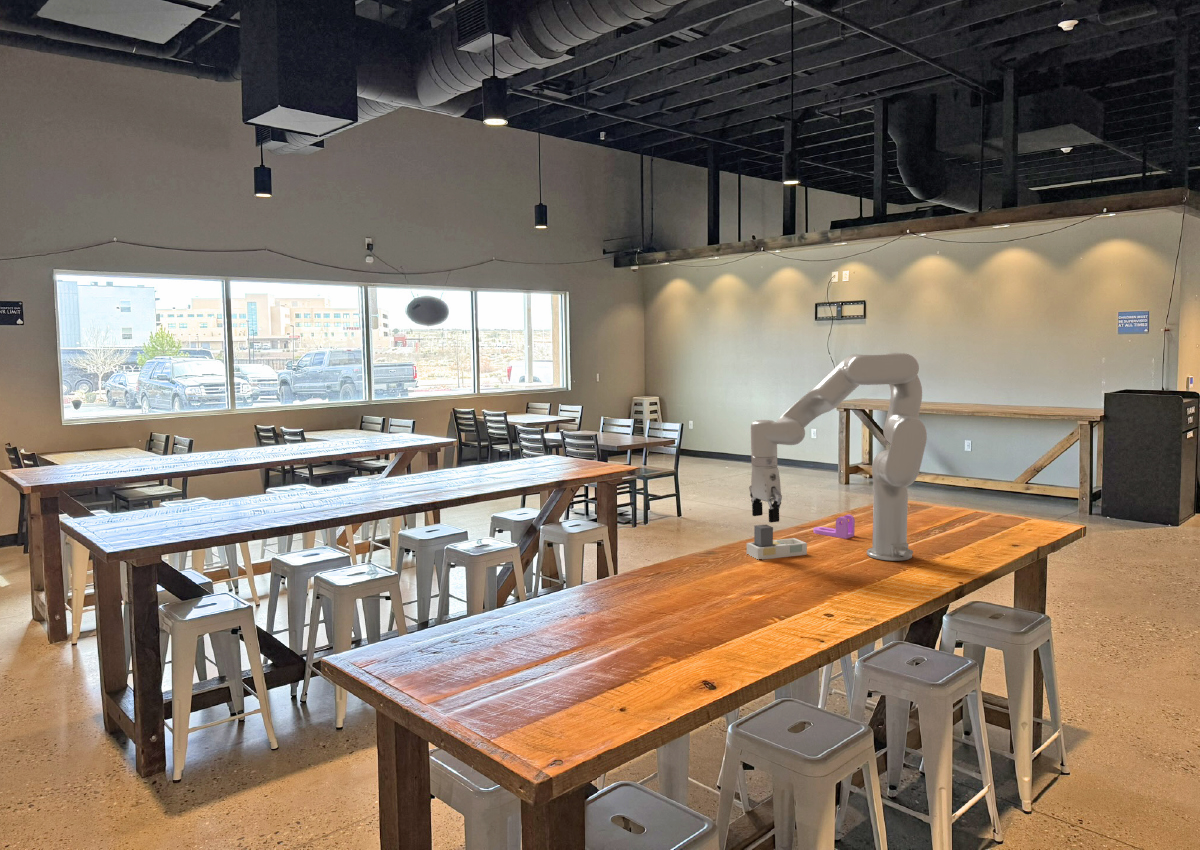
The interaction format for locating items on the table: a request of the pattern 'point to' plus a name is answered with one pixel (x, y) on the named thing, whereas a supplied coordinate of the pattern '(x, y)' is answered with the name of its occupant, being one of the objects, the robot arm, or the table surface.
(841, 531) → the bracket
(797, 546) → the socket block
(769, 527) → the plug
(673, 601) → the table surface
